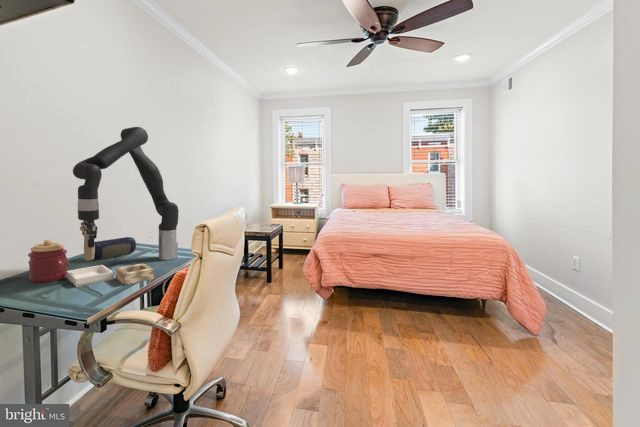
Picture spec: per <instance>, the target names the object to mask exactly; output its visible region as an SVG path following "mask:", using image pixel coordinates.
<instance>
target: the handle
mask: <svg viewBox="0 0 640 427" xmlns="http://www.w3.org/2000/svg"><path fill="white" fill-rule="evenodd" d="M85 230H86V228H84V227H83V226H82V227H81V226H80V227H79V231H81V232H82V231H83V232H84V235H83V238H84V239H83V254H84V259H85V261H93V260H92V259H94V254H95V244H94V247H91V248H89V247H88V239H87V238H88V237H87V234H86V231H85ZM87 230H88V228H87ZM89 231H90V230H88V232H89ZM91 236H93V234H92V235H91Z"/></svg>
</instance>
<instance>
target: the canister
mask: <svg viewBox="0 0 640 427" xmlns="http://www.w3.org/2000/svg"><path fill="white" fill-rule="evenodd" d="M64 248H65V245H64V244H61V243H59V242H52V240H50V239H46V240H44V241H43V243H38V244H36V245H34V246H33V247H30V249H29V250H30V251H31V252H29V253H27V256H28V257H29V260H28V269H29V274H28V277H29V278H28V279H29V281H30V282H32V283H39V284H43V283H52V282H57V281H60V280H63V279H65V278H67V274H66V271H69V270H68V268H67V260H68V257H67V255H66V254H67V252H68V250H66V249H64Z"/></svg>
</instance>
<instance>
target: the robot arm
mask: <svg viewBox="0 0 640 427" xmlns="http://www.w3.org/2000/svg"><path fill="white" fill-rule="evenodd" d="M120 139H121V140H120V141H118V142H115V143H113V144H110V145H109V146H106V147H105V148H103V149H101V150H100V151H99V152H97V153H96V154H95V155H93V156H90V157H87V158H85V159H83V160H82V161H79V162H78V163H76V164H75V165H74V166H73V168H72V174H73V176H74V177H76V179H79V180H84V183H83V184H82V185H79V186H78V188H77V219H78V220H79V221H82V222H80V227H82V226H83V227H84V228H86V230H85V231H86V234H87V237H88V238H87V239H88V247H89V248H91V247H94V242H95V240H96V239H97V237H98V236H97V234H98V226H97V224H96V223H95V221H96V220H99V219H100V203H99V192H98V191H99V187H100V183H101V180H102V170H105V169H108V168H110V166H112V165H113V164H114V163H116V162H117V161H118V160H120V159H121V158H122V157H124V156H125V155H127V154H130V157H131V158H132V161H133V162H134V164H135V166H136V168H137V170H138V172H139V175H140V177H141V178H142V181H143V183H144V185H145V187H146V188H147V191H148V193H149V194H150V196H151V199H152V201H153V202H152V203H153V204H154V207H155V210H156V213H157V214H158V215H159V216H161V222H160V223H159V224H158V259H159V260H161V261H171V260H174V259H177V258H178V257H179V255H178V254H179V253H178V251H179V242H178V241H177V228H178V224H179V207H178V205H177V204H176V203H175V202H173V201H172V202H171V201H170V200H169V199H168V197H167V195H166V193H165V190H164V180H163V177H162V174H161V171H160V169H159V168H158V166H157V165H156V164H155V163H154V162H153V160H151V159H150V158H149V157H148V156H147V155H146V154H145V152H144V150H143V149H142V146H143V145H145V144H147V142H148V140H149V135H148V132H147V130H146V129H144V128H143V127H141V126H133V127H128V128H123V129H122V130H121V132H120ZM87 228H88V230H90V231H89V232H88V230H87ZM81 234H82V236H84V232H83V231H81ZM92 234H93V236H91V235H92Z"/></svg>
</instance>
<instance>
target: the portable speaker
mask: <svg viewBox="0 0 640 427" xmlns="http://www.w3.org/2000/svg"><path fill="white" fill-rule="evenodd" d="M94 244H95V254H94V259H92V260H91V261H99V260H103V259H104V260H105V259H108V258H113V257H119V256H125V255H129V254H132V253H134V252H135V251H136V248H137V242H136V239H135V238H133V237H131V236H130V237H129V236H125V237H120V238H119V237H118V238H112V239H105V240H100V241H94Z"/></svg>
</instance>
